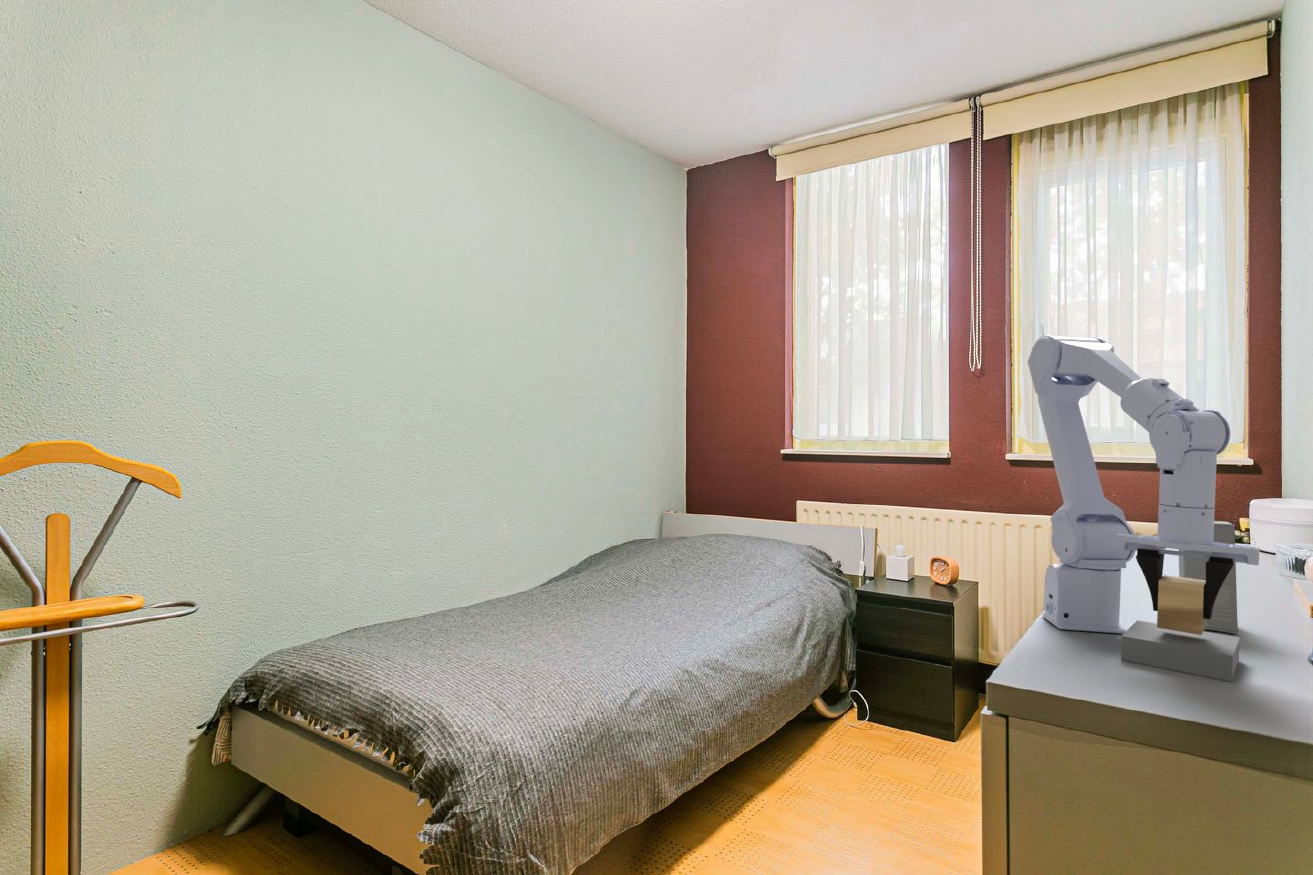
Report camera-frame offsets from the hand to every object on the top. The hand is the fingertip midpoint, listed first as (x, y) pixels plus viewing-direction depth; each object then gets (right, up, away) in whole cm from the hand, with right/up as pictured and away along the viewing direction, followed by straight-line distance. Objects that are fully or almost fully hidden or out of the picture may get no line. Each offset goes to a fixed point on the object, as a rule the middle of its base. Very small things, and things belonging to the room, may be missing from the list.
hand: (1181, 613), depth 93 cm
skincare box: (+17, -6, +18) cm, 25 cm away
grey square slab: (0, -6, 0) cm, 6 cm away
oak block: (0, -2, 0) cm, 2 cm away
